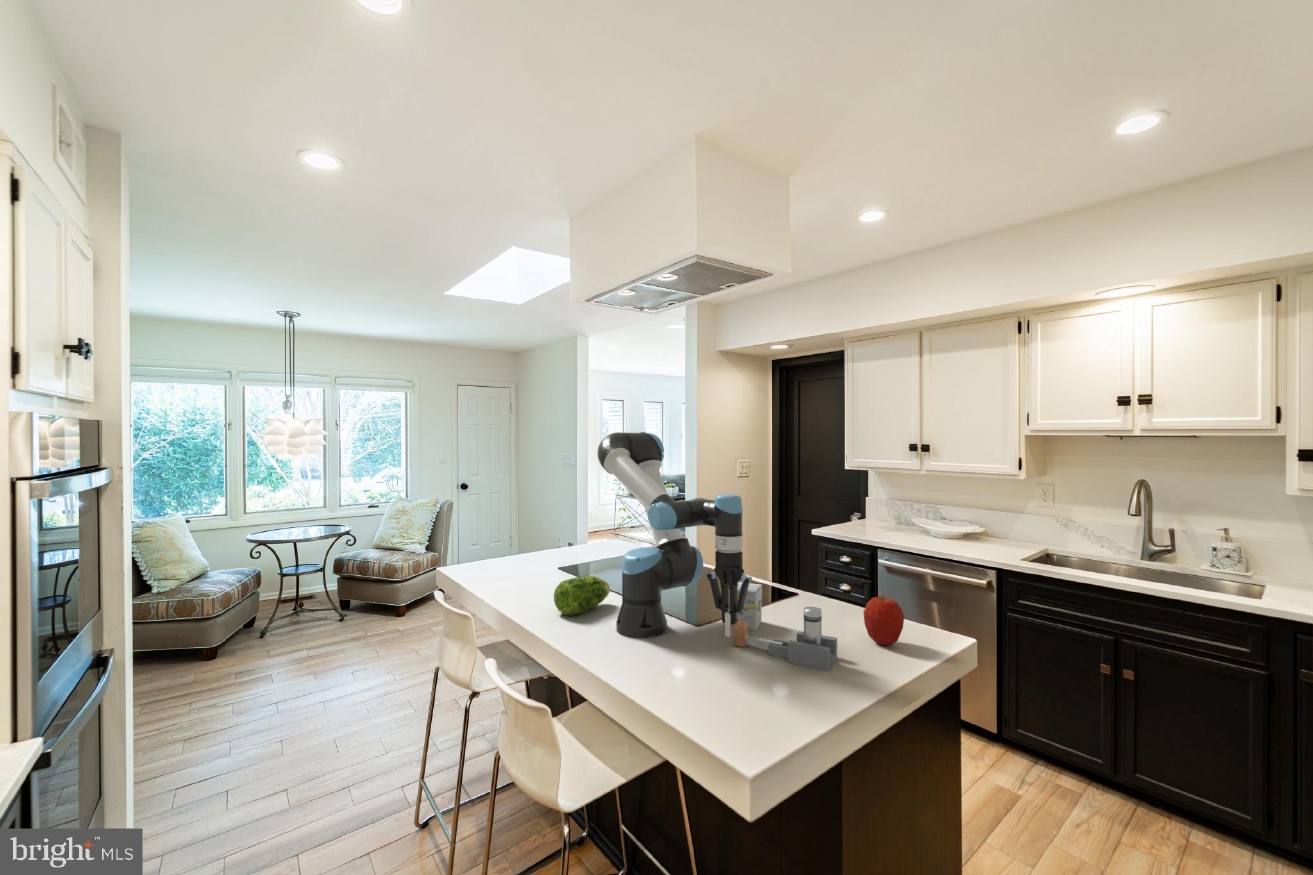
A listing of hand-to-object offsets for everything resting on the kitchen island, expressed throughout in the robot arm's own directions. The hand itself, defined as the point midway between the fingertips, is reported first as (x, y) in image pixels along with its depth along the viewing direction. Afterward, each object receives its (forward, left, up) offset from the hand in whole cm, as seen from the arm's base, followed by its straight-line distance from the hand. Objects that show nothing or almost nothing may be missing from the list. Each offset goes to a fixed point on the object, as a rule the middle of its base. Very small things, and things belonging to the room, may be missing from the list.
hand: (729, 635), depth 154 cm
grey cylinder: (+23, 0, -2) cm, 23 cm away
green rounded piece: (-53, +3, -2) cm, 53 cm away
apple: (+37, +21, -2) cm, 43 cm away
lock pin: (+8, 0, -2) cm, 9 cm away
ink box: (-2, +17, -2) cm, 17 cm away
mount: (+20, 0, -2) cm, 20 cm away
